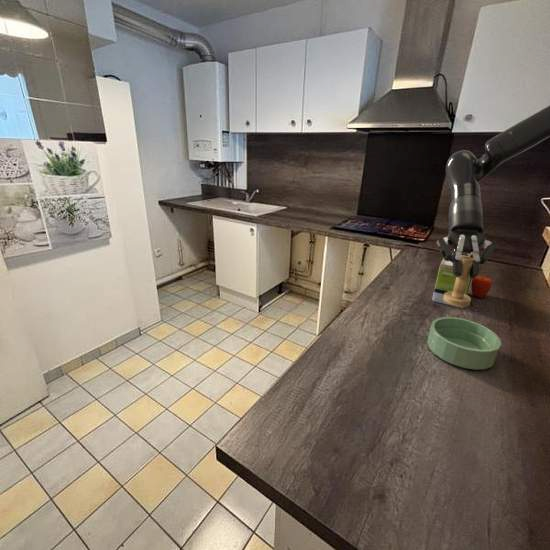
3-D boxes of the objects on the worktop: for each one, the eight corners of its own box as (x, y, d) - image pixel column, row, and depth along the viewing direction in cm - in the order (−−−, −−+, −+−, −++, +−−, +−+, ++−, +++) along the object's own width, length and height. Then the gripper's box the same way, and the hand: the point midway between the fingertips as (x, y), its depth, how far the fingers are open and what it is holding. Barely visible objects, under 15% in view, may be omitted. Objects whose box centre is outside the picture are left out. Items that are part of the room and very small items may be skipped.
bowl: (453, 330, 88) (458, 312, 85) (508, 362, 74) (515, 342, 72) (414, 341, 82) (418, 323, 80) (465, 378, 69) (472, 357, 67)
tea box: (437, 286, 116) (446, 251, 110) (466, 293, 111) (477, 256, 105) (431, 301, 105) (440, 262, 99) (463, 309, 99) (475, 269, 94)
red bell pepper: (465, 291, 112) (470, 273, 109) (483, 292, 111) (488, 274, 108) (471, 298, 107) (477, 280, 104) (490, 300, 106) (496, 281, 103)
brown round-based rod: (453, 294, 79) (464, 253, 75) (475, 304, 74) (488, 260, 70) (437, 298, 77) (447, 255, 73) (458, 308, 72) (470, 263, 68)
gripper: (439, 207, 76) (438, 267, 70) (502, 210, 72) (507, 274, 66) (432, 223, 82) (430, 279, 76) (489, 226, 78) (492, 285, 72)
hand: (465, 276), depth 71 cm, fingers closed on brown round-based rod, 2 cm apart
